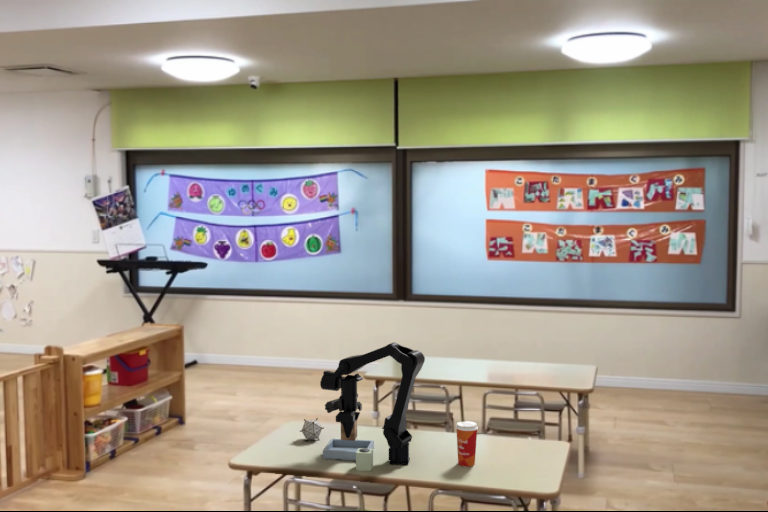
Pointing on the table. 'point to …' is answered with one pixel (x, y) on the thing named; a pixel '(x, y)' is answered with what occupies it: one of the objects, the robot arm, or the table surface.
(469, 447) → the paper cup
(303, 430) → the game die
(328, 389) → the robot arm
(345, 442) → the tray
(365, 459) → the sage block
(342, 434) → the walnut block
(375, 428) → the table surface
